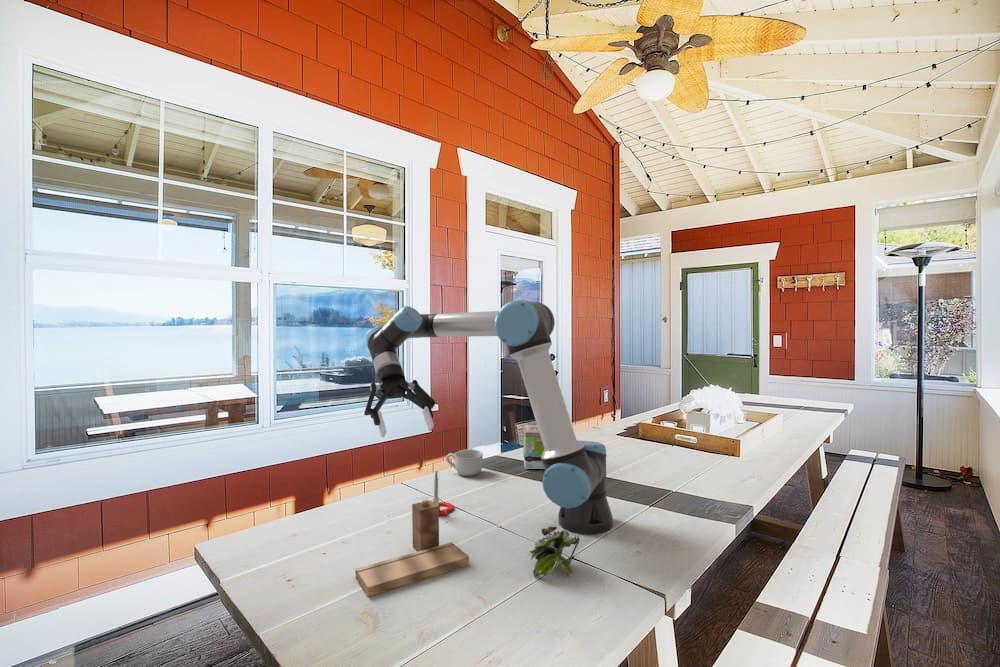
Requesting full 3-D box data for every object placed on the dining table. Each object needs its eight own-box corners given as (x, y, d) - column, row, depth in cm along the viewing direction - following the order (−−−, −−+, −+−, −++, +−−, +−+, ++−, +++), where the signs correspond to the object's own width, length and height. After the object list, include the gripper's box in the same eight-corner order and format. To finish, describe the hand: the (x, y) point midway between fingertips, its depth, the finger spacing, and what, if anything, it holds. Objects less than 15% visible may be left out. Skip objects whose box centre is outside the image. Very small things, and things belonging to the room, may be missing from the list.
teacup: (487, 471, 186) (487, 450, 186) (476, 479, 176) (476, 457, 175) (454, 467, 190) (453, 447, 190) (442, 476, 180) (441, 454, 180)
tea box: (550, 470, 186) (550, 432, 186) (524, 470, 187) (524, 432, 186) (547, 459, 201) (547, 423, 201) (523, 459, 202) (522, 424, 201)
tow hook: (430, 505, 153) (421, 515, 144) (430, 463, 153) (421, 471, 144) (456, 506, 151) (448, 516, 142) (456, 465, 152) (449, 472, 143)
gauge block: (430, 542, 126) (430, 496, 125) (439, 549, 121) (438, 502, 121) (412, 547, 123) (412, 500, 123) (420, 555, 119) (420, 506, 118)
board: (451, 550, 121) (451, 541, 121) (469, 564, 113) (469, 556, 113) (355, 577, 108) (355, 568, 108) (368, 596, 101) (367, 586, 100)
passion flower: (548, 585, 114) (564, 534, 120) (581, 597, 106) (596, 541, 111) (514, 568, 110) (532, 516, 115) (546, 579, 101) (563, 522, 107)
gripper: (424, 376, 152) (445, 433, 140) (343, 381, 138) (359, 445, 126) (431, 360, 147) (454, 418, 135) (348, 364, 134) (365, 428, 122)
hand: (408, 431), depth 131 cm, fingers open, 13 cm apart
